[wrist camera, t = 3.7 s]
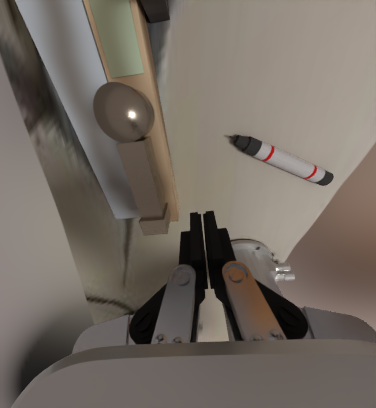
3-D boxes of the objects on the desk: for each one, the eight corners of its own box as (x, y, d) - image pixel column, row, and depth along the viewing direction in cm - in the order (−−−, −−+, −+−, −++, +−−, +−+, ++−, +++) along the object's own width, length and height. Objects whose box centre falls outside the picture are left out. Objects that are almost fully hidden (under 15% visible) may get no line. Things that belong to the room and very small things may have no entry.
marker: (326, 170, 22) (337, 175, 20) (315, 182, 22) (325, 188, 21) (230, 127, 19) (234, 129, 17) (223, 142, 20) (226, 145, 18)
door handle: (105, 91, 13) (80, 85, 10) (149, 84, 13) (136, 76, 10) (146, 217, 21) (138, 235, 18) (175, 214, 20) (172, 233, 17)
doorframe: (151, -133, 10) (96, -468, 4) (192, 208, 25) (193, 239, 19) (-3, -92, 11) (-223, -321, 5) (124, 214, 26) (104, 245, 20)
